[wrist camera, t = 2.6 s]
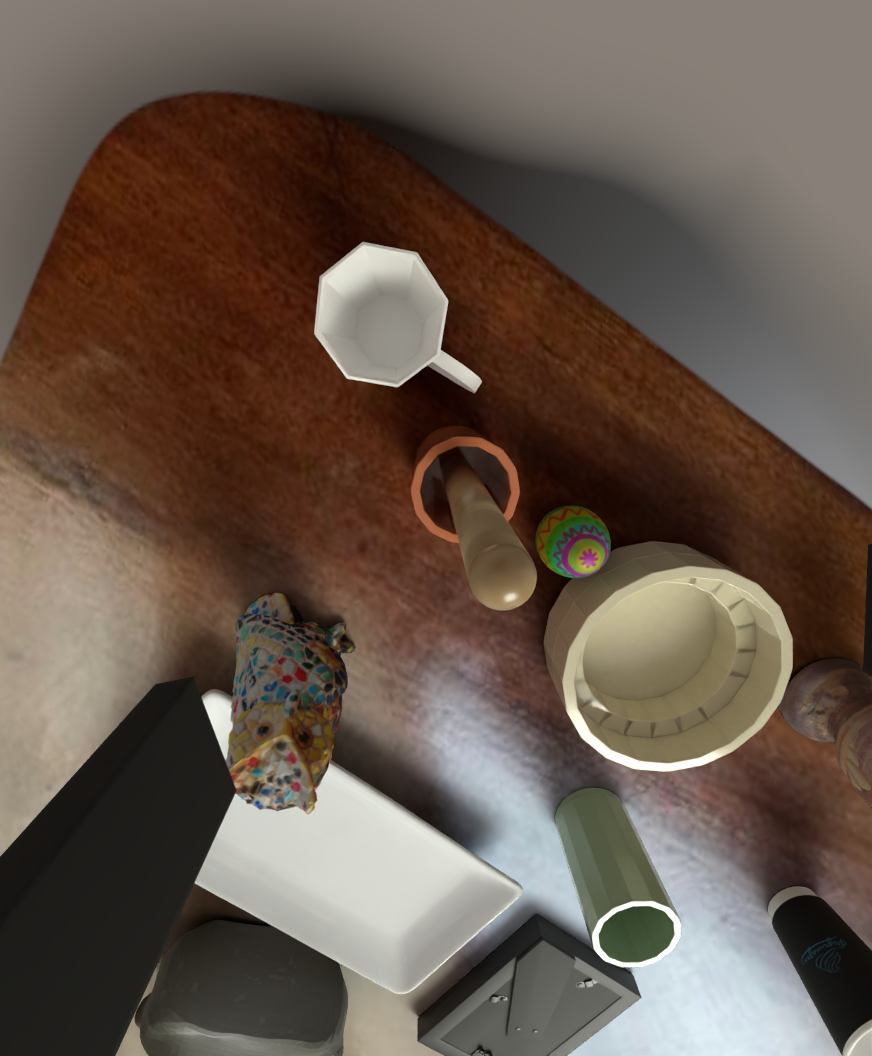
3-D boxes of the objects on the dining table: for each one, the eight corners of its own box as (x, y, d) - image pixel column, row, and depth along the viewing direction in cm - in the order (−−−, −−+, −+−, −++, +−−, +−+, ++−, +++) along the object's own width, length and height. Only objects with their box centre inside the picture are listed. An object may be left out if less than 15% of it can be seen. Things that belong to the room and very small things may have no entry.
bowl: (735, 521, 37) (792, 545, 31) (741, 698, 41) (793, 749, 35) (529, 561, 37) (549, 592, 32) (556, 733, 42) (578, 788, 36)
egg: (607, 518, 37) (642, 541, 31) (573, 573, 38) (600, 606, 32) (551, 488, 36) (576, 506, 30) (517, 545, 37) (535, 574, 31)
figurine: (339, 574, 37) (287, 690, 23) (374, 675, 40) (347, 838, 25) (231, 602, 38) (113, 735, 23) (272, 701, 40) (188, 877, 26)
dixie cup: (773, 866, 46) (877, 1008, 36) (848, 881, 47) (972, 1024, 36) (737, 928, 48) (826, 1080, 38) (810, 942, 49) (917, 1094, 38)
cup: (370, 253, 32) (354, 208, 24) (500, 341, 33) (524, 327, 25) (318, 352, 33) (286, 340, 25) (444, 432, 35) (451, 444, 27)
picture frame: (536, 913, 47) (417, 1017, 50) (541, 938, 45) (417, 1045, 48) (633, 974, 49) (514, 1070, 53) (643, 1001, 47) (518, 1099, 51)
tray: (404, 962, 48) (403, 1005, 45) (116, 798, 42) (90, 833, 39) (521, 854, 45) (530, 891, 42) (228, 660, 39) (210, 685, 36)
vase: (620, 780, 43) (677, 893, 33) (627, 837, 45) (683, 959, 35) (550, 793, 43) (587, 909, 34) (559, 849, 45) (597, 974, 35)
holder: (487, 416, 34) (509, 425, 26) (501, 498, 36) (526, 532, 27) (406, 433, 35) (401, 448, 26) (423, 514, 36) (423, 553, 28)
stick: (466, 451, 34) (538, 548, 13) (471, 478, 35) (548, 614, 14) (438, 456, 35) (465, 562, 13) (444, 484, 35) (478, 628, 14)
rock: (150, 989, 48) (99, 1101, 41) (168, 903, 45) (118, 1006, 38) (335, 1020, 50) (320, 1132, 43) (363, 940, 47) (353, 1045, 40)
